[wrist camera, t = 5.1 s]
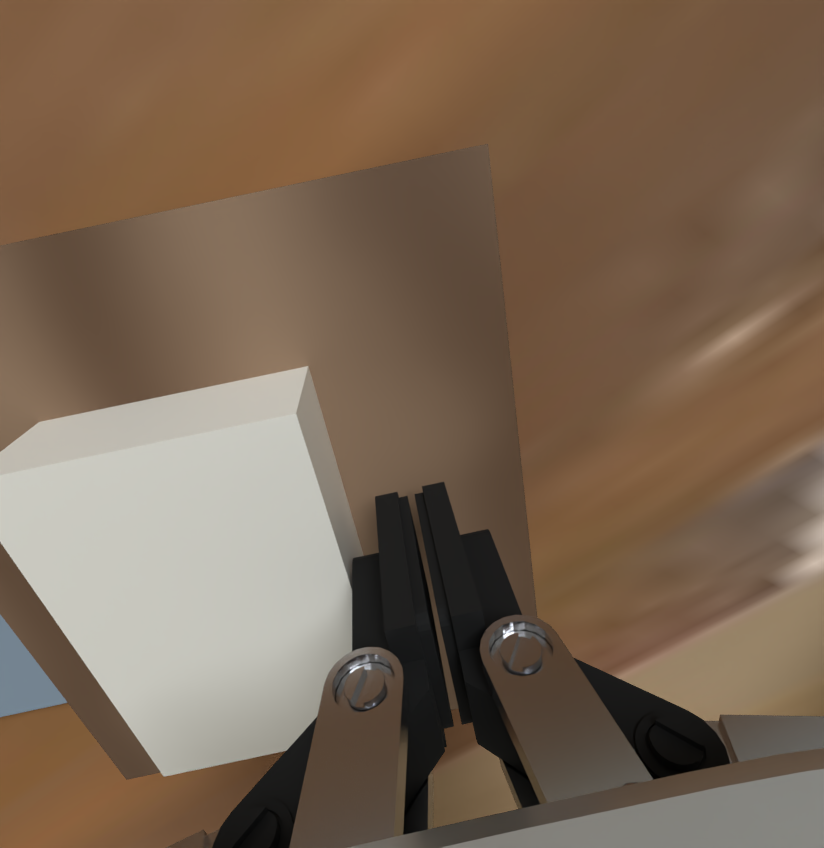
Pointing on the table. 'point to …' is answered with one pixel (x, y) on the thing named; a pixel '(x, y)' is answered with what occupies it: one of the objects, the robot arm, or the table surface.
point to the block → (192, 560)
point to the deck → (284, 353)
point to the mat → (22, 677)
